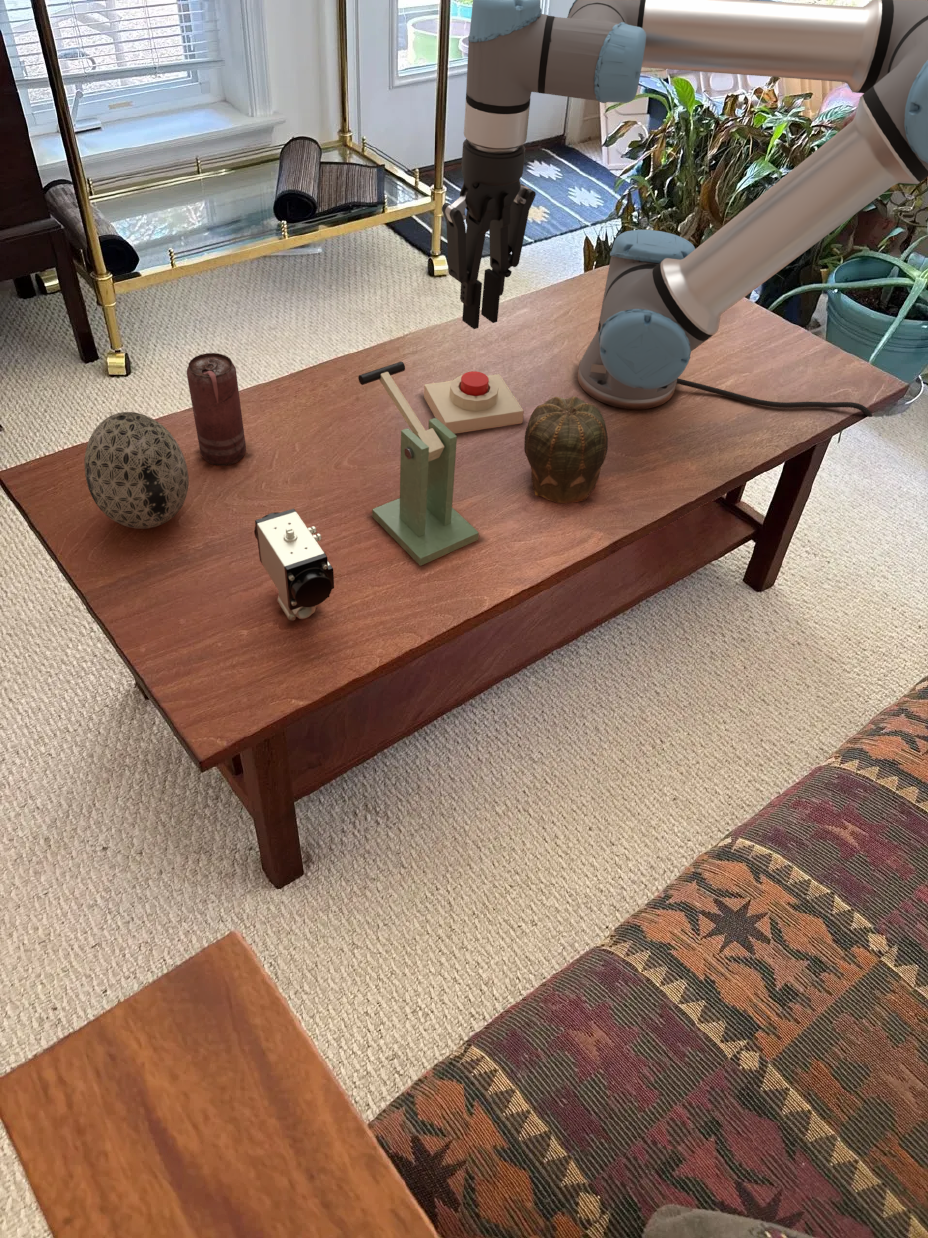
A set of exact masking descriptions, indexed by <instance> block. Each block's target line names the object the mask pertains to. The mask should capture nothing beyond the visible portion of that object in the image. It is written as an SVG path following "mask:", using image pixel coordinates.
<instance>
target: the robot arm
mask: <svg viewBox="0 0 928 1238" xmlns="http://www.w3.org/2000/svg"><path fill="white" fill-rule="evenodd" d="M467 41H468V42H467V43H468V44H467V46H468V47H467V64H466V65H467V67H466V91H465V106H464V122H463V136H464V138H465V140H464V141H463V142H462V155H461V172H462V173H461V174H462V178H463V182H462V187H461V189H460V190H459V197H458V198H457V199H456V200H454V202H452V203H451V204H450V203H448V202H444V203H443V204H442V206H441V212H442V214H443V217H444V219H445V223H446V245H447V246H446V247H447V268H448V269H447V272H448V275H449V276H451V277H452V278H453V279H454V280H456V281H458V282H459V283H460V295H459V300H460V302H461V303H463V305H462V318H461V319H462V322H464V323H465V324H467V326H469V327H470V328H471V329H473V330H476V329H479V326H480V315H482V316H483V317H484V318H485V319H487V321H489V322H490V323H492V324H495V323H497V322H498V319H499V309H500V308H499V307H500V299H501V296H503V294H504V290H505V280H506V278H509V277H510V276H511V275H512V270H511V268H512V267H513V268H517V267H518V266H519V264H520V261H521V254H522V249H523V246H524V245H523V244H524V239H525V235H526V229H527V224H528V218H529V213H530V210H531V207H532V205H533V203H534V201H535V198H536V195H537V193H536V191H535V190H534V189H531V188H530V187H528V186H527V185H525V184H524V183H521V180H520V179H522V176H523V174H524V167H525V166H524V165H525V156H526V147H525V145H524V144H525V143H526V142H527V138H528V128H529V119H530V110H531V109H530V108H531V95H532V93H535V94H536V93H537V94H543V95H545V94H546V95H551V96H558V97H567V98H572V99H580V100H588V101H595V102H599V103H601V104H606V103H617V104H618V103H620V104H621V103H622V104H623V103H624V104H626V103H628V104H629V103H630V102H632V101H633V100H634V99H635V98H636V96H637V95H638V94H637V93H638V89H639V84H640V80H641V74H642V73H641V72H642V68H646V69H658V70H659V69H660V70H663V69H664V70H673V71H674V70H676V71H689V72H700V73H701V72H703V73H714V74H727V75H728V74H729V75H740V76H741V75H743V76H756V77H758V76H759V77H768V78H769V77H771V78H782V79H783V78H784V79H796V80H812V81H823V82H825V81H826V82H839V83H845V84H847V86H848V88H849V89H850V91H851V92H852V93H856V94H862V95H860V96H859V100H858V103H857V108H856V112H855V115H854V117H853V119H852V121H850V122H849V123H848V124H847V125H846V126H844V127H843V128H842V129H841V130H840V131H838V132H837V133H836V134H835V135H834V136H832V137H831V138H830V139H829V140H827V141H826V142H824V144H822V145H821V146H820V147H819V148H818V149H816V150H815V151H814V152H812V153H811V154H810V155H809V156H807V158H805V159H804V160H802V161H801V162H800V163H799V164H798V165H796V166H795V167H794V168H793V169H792V170H790V171H789V172H788V173H787V174H786V175H784V176H783V177H781V179H779V180H778V181H777V182H776V183H775V184H773V185H772V186H771V187H770V188H768V189H767V190H766V191H764V192H763V193H762V194H761V195H760V196H759V197H757V198H756V199H755V200H754V201H752V202H751V203H750V204H749V205H748V206H746V207H745V208H744V209H743V210H741V211H740V212H739V213H738V214H736V215H735V216H734V217H733V218H732V219H731V220H729V221H728V222H727V223H726V224H724V225H723V226H721V228H719V229H718V230H717V231H716V232H715V233H713V234H712V235H711V236H710V237H708V238H707V239H706V240H704V241H703V242H702V243H701V244H700V245H699V246H698V247H695V246H694V244H693V243H692V242H691V241H689V240H688V239H686V238H684V237H682V236H679V235H677V234H674V233H671V232H666V231H662V230H654V229H633V230H632V229H631V230H627V231H624V232H622V233H619V234H618V235H617V237H615V239H614V241H613V245H612V249H611V251H610V252H609V256H610V260H609V265H608V270H607V276H606V282H605V287H604V292H603V298H602V304H601V309H600V316H599V319H598V326H597V330H596V332H595V334H594V336H593V337H592V338H591V341H590V343H589V345H588V347H587V348H586V350H585V351H584V353H583V355H582V356H581V359H580V361H579V364H578V369H577V382H578V384H579V386H580V387H581V389H582V390H583V391H584V392H585V394H588V395H589V396H590V397H591V398H593V399H594V400H597V401H598V402H601V403H603V404H604V405H608V406H612V407H615V408H619V409H625V410H645V409H646V410H647V409H652V408H657V407H659V406H661V405H663V404H665V403H666V402H668V401H669V400H670V399H672V397H673V396H674V393H675V391H676V386H677V385H681V386H685V387H689V388H693V389H697V390H701V391H704V392H708V393H713V394H715V395H716V394H717V395H720V396H724V397H727V398H731V399H733V400H737V401H742V402H746V403H749V404H754V405H758V406H763V407H769V408H778V409H779V408H780V409H781V408H783V409H785V408H787V409H794V408H828V409H832V408H833V409H834V408H851V409H856V410H858V411H860V412H862V413H863V414H864V415H865V416H866V417H868V418H872V417H873V414H872V412H871V410H870V409H868V407H866V406H865V405H863V404H860V403H859V402H853V401H834V402H833V401H831V402H830V401H829V402H828V401H827V402H826V401H795V402H794V401H791V402H784V401H783V402H782V401H771V400H765V399H758V398H754V397H750V396H746V395H742V394H739V393H736V392H732V391H729V390H725V389H722V388H721V389H720V388H717V387H713V386H710V385H706V384H702V383H698V382H694V381H691V380H687V379H683V378H679V377H681V375H683V373H684V372H685V370H686V368H687V366H688V364H689V362H690V359H691V354H692V352H693V351H694V350H695V349H697V348H698V347H699V346H701V345H702V344H704V343H705V342H707V340H709V339H710V338H712V337H713V336H714V335H715V334H717V332H719V329H720V324H721V319H722V318H721V317H722V315H723V314H724V313H725V312H727V311H728V310H729V309H730V308H732V307H733V306H734V305H736V304H737V303H739V302H740V301H741V300H743V299H744V298H746V296H748V295H750V294H751V293H752V292H753V291H755V290H756V289H758V288H759V287H760V286H761V285H763V284H764V283H766V282H767V281H768V280H769V279H771V278H772V277H773V276H775V275H776V274H778V273H779V272H780V271H781V270H783V269H784V268H785V267H787V266H788V265H789V264H791V263H792V262H793V261H795V260H797V258H799V257H800V256H801V255H803V254H804V253H805V252H806V251H808V250H809V249H811V248H812V247H814V246H815V245H816V244H818V243H819V242H820V241H822V240H823V239H824V238H825V237H826V236H828V235H829V234H831V233H832V232H833V231H835V230H837V228H839V227H840V226H841V225H843V224H844V223H845V222H847V221H848V220H849V219H851V218H852V217H854V215H856V214H857V213H859V212H860V211H862V209H864V208H865V207H867V206H868V205H869V204H871V203H872V202H873V201H875V200H876V199H877V198H879V197H880V196H882V194H884V193H886V192H887V191H888V190H889V189H890V188H892V187H893V186H895V185H897V184H912V185H918V184H920V183H921V182H923V181H924V180H926V179H927V178H928V0H870V1H869V2H868V3H867V4H865V5H863V6H853V5H852V6H851V5H838V4H837V5H835V4H821V3H820V4H818V3H816V4H815V3H803V2H801V3H800V2H786V1H783V2H782V1H770V0H574V2H572V4H571V6H570V8H569V10H568V14H567V16H566V17H559V16H555V15H548V14H545V13H542V8H541V0H472V6H471V15H470V25H469V34H468V36H467ZM487 233H488V235H489V237H488V239H489V266H490V268H486V269H484V275H483V282H482V281H480V280H479V274H480V273H479V272H480V267H481V261H482V258H483V257H482V256H483V250H484V245H485V239H486V235H487Z"/></svg>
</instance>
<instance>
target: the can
mask: <svg viewBox="0 0 928 1238" xmlns="http://www.w3.org/2000/svg"><path fill="white" fill-rule="evenodd" d="M186 377H187V383H188V389H189V395H190V401H191V406H192V407H191V408H192V412H193V418H194V423H195V424H194V425H195V429H196V435H197V442H198V447H199V452H200V453H199V454H200V455H201V457H202V459H204V460H205V461H206V462H207V463H208V464H211V465H213V466H219V467H224V466H225V467H226V466H231V465H234V464H236V463H238V462H240V461H241V460H242V459H243V458H244V456H245V454H246V452H247V444H246V437H245V429H244V422H243V415H242V407H241V399H240V391H239V383H238V374H237V368H236V366H235V364H234V363H233V361H232V360H231V358H230V357H228V356H227V355H225V354H222V353H216V352H206V353H202V354H201V353H200V354H199V355H197V356H194V357H193V358H191V359H190V361H189V362H188V365H187V369H186Z"/></svg>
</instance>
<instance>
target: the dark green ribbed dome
mask: <svg viewBox="0 0 928 1238" xmlns="http://www.w3.org/2000/svg"><path fill="white" fill-rule="evenodd" d="M523 442H524V443H523V444H524V445H523V446H524V447H523V451H524V455H525V456H526V458H527V461H528V464H529V467H530V470H531V473H530V474H531V485H532V489H533V492H534V495H535V496H536V497H542V498H544V499H545V500H548V501H550V502H553V503H556V504H570V503H571V504H573V503H579V502H584V501H587V499H588V497H589V496H590V495H591V493H592V492H593V491H594V489H595V488H596V485H597V482H598V480H599V477H600V474H601V470H602V466H603V464H604V463H605V460H606V458H607V454H608V450H609V436H608V429H607V425H606V421H605V418H604V416H603V414H602V412H601V411H600V409H599V408H598V407H597V406H595V405H594V404H592V403H587V402H586V401H585V400H583V399H582V398H579V397H578V396H576V395H575V396H570V397H566V398H564V397H561V396H554V397H551V398H549V399H548V400H546V401H545V402H544V403H542V404H540V405H538V406H536V408H534V409H533V411H532V413H531V415H530V417H529V419H528V422H527V426H526V428H525V432H524V441H523Z"/></svg>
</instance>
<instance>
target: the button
mask: <svg viewBox="0 0 928 1238" xmlns="http://www.w3.org/2000/svg"><path fill="white" fill-rule="evenodd" d="M461 375H462V377H461V391H462V392H463V393H465V394H467V395H472V396H481V395H485V394H486V393H487V391H488V384H489V378H488V377H487V376H488V375H486V373H484V372H480V371H475V370H472V371H467V372H465V373H463V374H461Z"/></svg>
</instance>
